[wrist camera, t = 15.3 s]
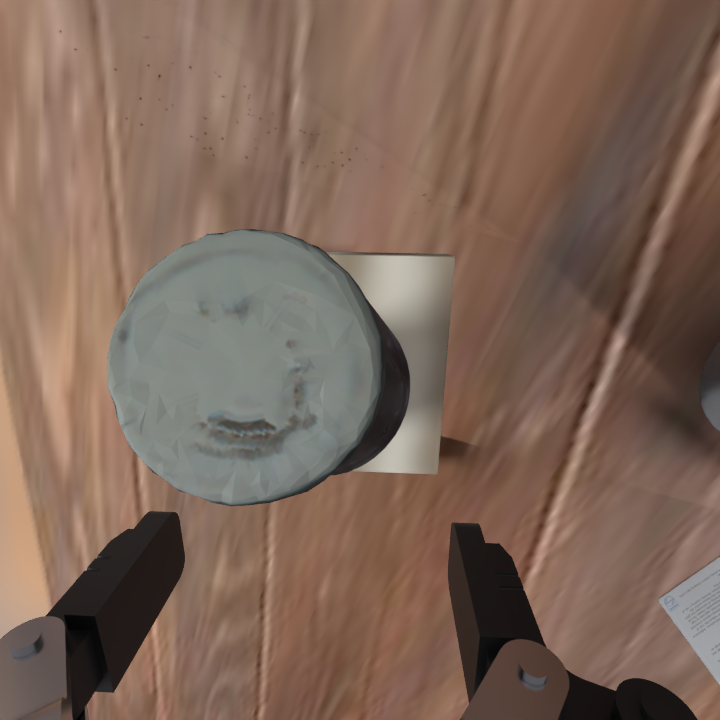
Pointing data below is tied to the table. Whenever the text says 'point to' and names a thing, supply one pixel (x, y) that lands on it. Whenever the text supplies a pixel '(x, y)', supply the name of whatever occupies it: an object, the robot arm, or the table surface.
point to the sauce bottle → (254, 369)
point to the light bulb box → (699, 614)
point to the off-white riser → (411, 344)
